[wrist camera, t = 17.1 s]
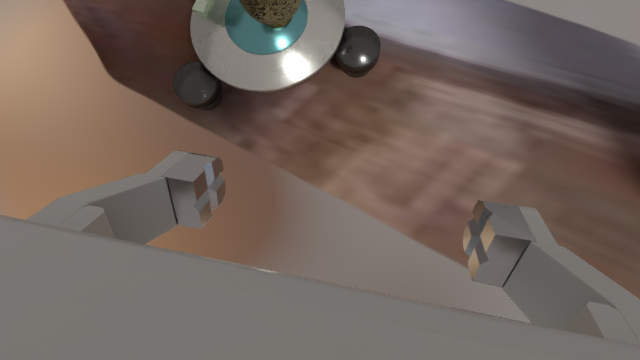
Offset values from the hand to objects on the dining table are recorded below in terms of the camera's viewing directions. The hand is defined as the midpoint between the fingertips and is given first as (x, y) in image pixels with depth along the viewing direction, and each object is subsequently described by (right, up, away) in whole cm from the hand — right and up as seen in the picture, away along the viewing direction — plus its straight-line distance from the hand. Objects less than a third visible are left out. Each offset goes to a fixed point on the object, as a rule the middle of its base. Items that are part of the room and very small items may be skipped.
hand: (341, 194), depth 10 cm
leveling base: (-7, +20, +31) cm, 38 cm away
